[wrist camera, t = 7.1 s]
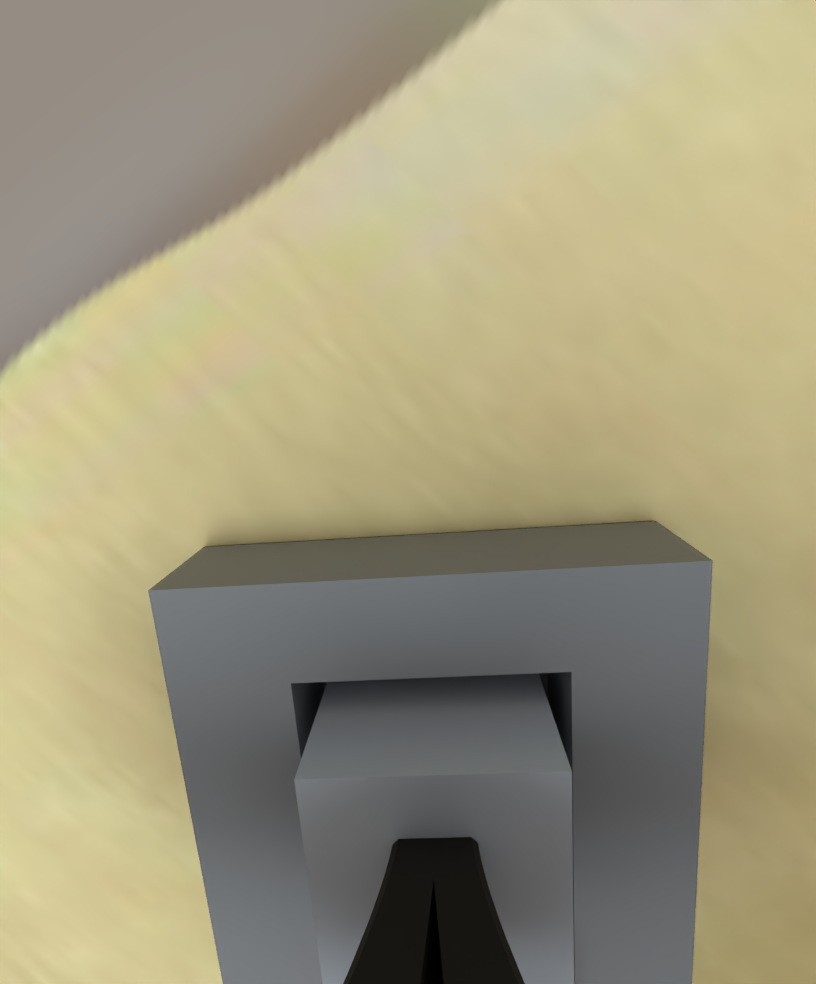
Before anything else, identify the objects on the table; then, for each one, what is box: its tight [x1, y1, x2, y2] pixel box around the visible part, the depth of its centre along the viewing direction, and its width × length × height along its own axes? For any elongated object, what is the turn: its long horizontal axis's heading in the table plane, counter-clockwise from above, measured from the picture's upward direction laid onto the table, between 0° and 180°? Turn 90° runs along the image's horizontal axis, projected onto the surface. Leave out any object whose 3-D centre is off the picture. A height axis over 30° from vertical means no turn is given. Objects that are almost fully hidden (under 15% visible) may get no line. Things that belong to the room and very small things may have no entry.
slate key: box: [294, 674, 574, 984], centre depth 11 cm, size 4×4×3 cm
